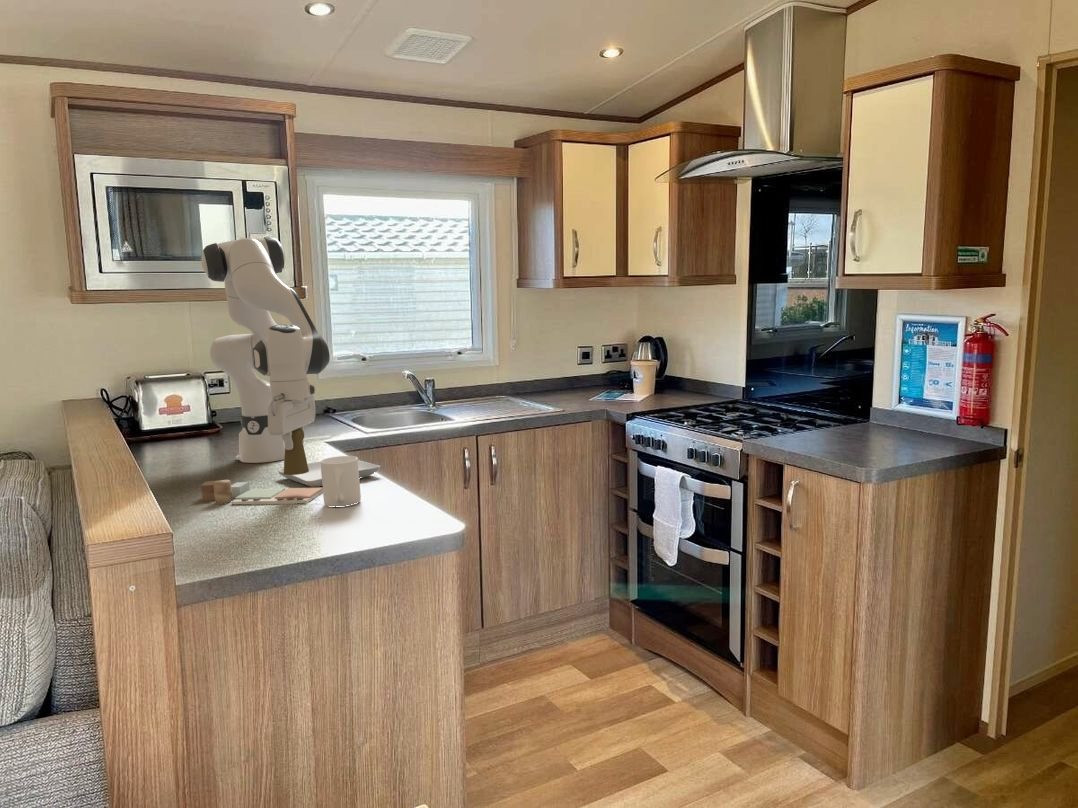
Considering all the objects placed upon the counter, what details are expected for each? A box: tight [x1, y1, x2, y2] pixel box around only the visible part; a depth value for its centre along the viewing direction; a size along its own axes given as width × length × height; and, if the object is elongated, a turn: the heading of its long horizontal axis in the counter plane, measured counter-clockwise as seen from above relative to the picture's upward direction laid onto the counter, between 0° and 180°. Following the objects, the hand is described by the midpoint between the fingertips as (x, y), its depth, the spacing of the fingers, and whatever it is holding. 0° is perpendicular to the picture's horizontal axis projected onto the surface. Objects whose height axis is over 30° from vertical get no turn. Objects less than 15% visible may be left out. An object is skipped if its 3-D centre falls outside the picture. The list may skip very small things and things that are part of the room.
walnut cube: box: [200, 480, 217, 502], centre depth 202 cm, size 4×4×4 cm
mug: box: [319, 455, 362, 507], centre depth 188 cm, size 9×12×11 cm
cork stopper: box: [213, 479, 234, 505], centre depth 197 cm, size 4×4×5 cm
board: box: [230, 487, 323, 505], centre depth 198 cm, size 11×19×1 cm, turn 84°
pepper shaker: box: [283, 428, 309, 475], centre depth 197 cm, size 6×6×11 cm
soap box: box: [231, 481, 250, 499], centre depth 203 cm, size 5×3×3 cm, turn 174°
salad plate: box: [277, 459, 381, 488], centre depth 218 cm, size 21×21×3 cm
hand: (294, 447), depth 197 cm, fingers closed on pepper shaker, 4 cm apart
